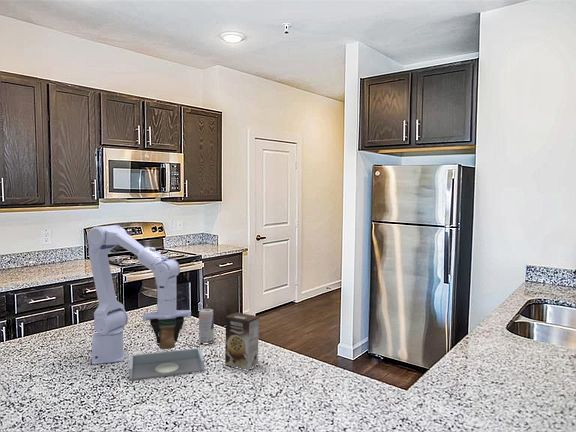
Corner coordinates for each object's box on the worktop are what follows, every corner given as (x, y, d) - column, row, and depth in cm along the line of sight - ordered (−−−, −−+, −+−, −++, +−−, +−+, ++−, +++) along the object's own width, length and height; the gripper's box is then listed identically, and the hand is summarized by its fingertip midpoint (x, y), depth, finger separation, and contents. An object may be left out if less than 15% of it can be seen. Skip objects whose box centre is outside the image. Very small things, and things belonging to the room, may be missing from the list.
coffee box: (224, 365, 133) (224, 316, 132) (235, 359, 138) (236, 311, 138) (248, 372, 128) (248, 320, 128) (259, 364, 134) (259, 315, 133)
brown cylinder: (159, 350, 127) (159, 330, 127) (158, 345, 132) (158, 326, 132) (175, 348, 129) (175, 329, 129) (174, 343, 133) (174, 324, 133)
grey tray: (129, 381, 121) (129, 369, 121) (130, 366, 131) (130, 355, 131) (204, 371, 128) (204, 360, 128) (199, 358, 138) (199, 347, 138)
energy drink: (215, 340, 156) (215, 308, 155) (211, 345, 150) (211, 312, 150) (201, 339, 156) (201, 308, 156) (196, 344, 151) (197, 312, 150)
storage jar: (155, 326, 171) (155, 290, 170) (179, 323, 175) (179, 288, 174) (158, 334, 162) (158, 296, 161) (184, 330, 166) (184, 294, 165)
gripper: (142, 303, 123) (142, 348, 124) (192, 300, 128) (192, 343, 129) (142, 298, 130) (142, 340, 130) (189, 294, 135) (189, 336, 135)
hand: (167, 341), depth 130 cm, fingers closed on brown cylinder, 5 cm apart
